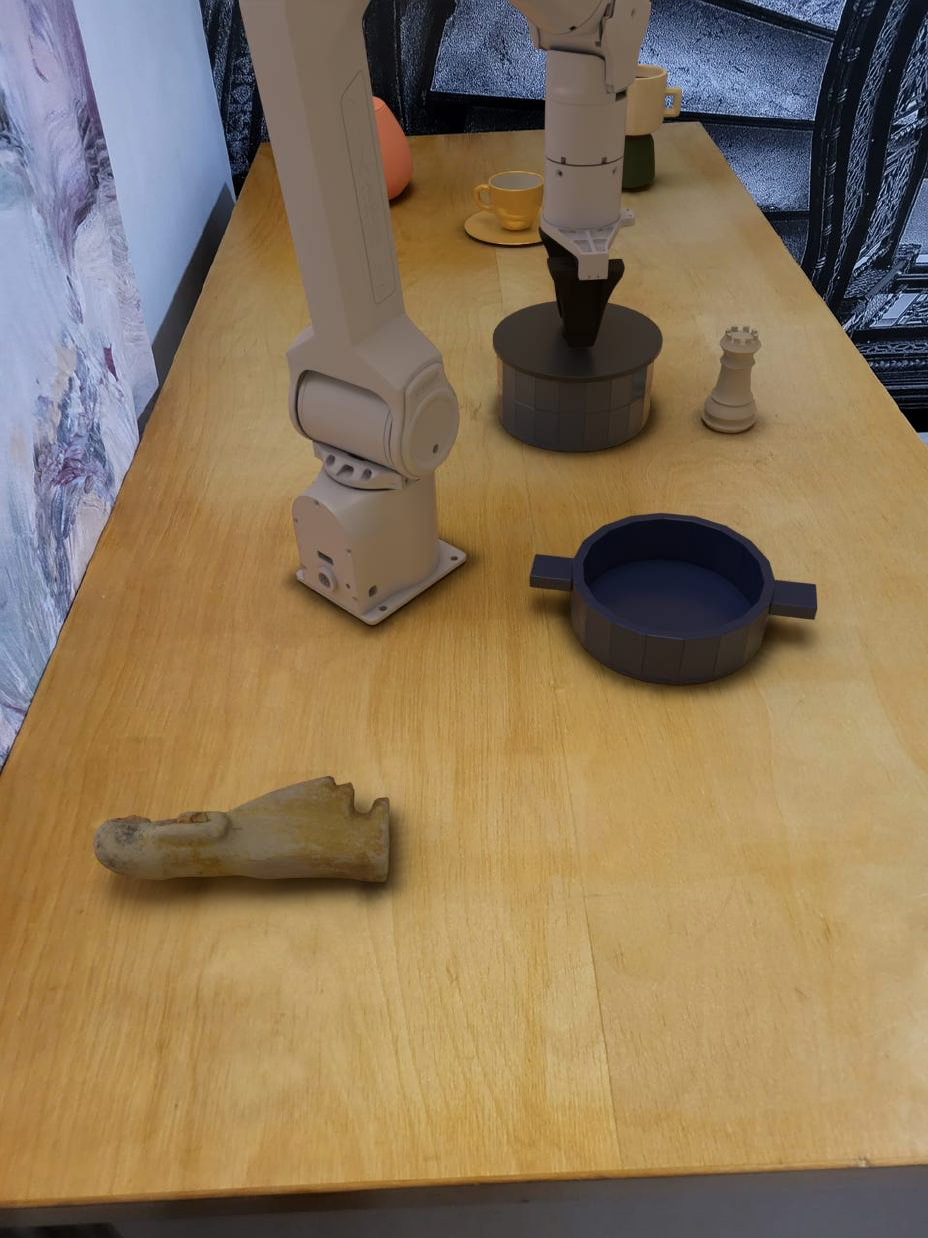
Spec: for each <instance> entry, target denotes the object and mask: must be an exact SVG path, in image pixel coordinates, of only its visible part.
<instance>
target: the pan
mask: <svg viewBox="0 0 928 1238" xmlns="http://www.w3.org/2000/svg"><path fill="white" fill-rule="evenodd" d="M528 582H529V583H528V585H529V587H530V588H533V589H542V590H551V591H560V592H566V593H567V592H568V593H570V599H569V602H570V604H569V605H570V622H571V625H572V629H573V632H574V635H576V638H577V640H578V641H579V642H580V644H581V645H582V646H583V648H584V649H585V650H586V651H587V652H588V653H589V654H590V655H591V656H592V657H593V658H594V659H596V660H597V661H598V662H600V663H602V664H603V665H605V666H606V667H608V668H609V669H611V670H613V671H615V672H617V673H620V674H622V675H624V676H627V677H630V678H632V679H636V680H639V681H643V682H648V683H654V684H660V685H672V686H682V685H683V686H685V685H686V686H687V685H696V684H702V683H707V682H713V681H715V680H719V679H721V678H723V677H726V676H728V675H730V674H733V673H735V672H736V671H738V670H739V669H741V668H742V667H744V666H745V665H746V664H747V663H749V662H750V661H751V660H752V658H753V657H754V656H755V655H756V654H757V652H758V651H759V648H760V647H761V645H762V642H763V639H764V635H765V631H766V628H767V625H768V620H769V616H774V617H775V616H777V617H783V618H794V619H802V620H811V621H815V620H816V616H817V613H818V593H817V592H818V591H817V584H816V583H809V582H800V581H791V580H781V579H775V576H774V573H773V569H772V565H771V562H770V560H769V559H768V558H767V557H766V556H765V554H764V553H763V552H762V551H761V550H760V548H758V546H757V545H756V544H755V543H754V542H753V541H752V540H751V539H749V538H748V537H746V536H744V535H742V534H741V533H739V532H738V531H736V530H734V529H733V528H731V527H729V526H728V525H725V524H722V523H719V522H716V521H712V520H709V519H707V518H703V517H699V516H696V515H689V514H678V513H669V512H654V513H653V512H652V513H644V514H635V515H629V516H626V517H624V518H620V519H617V520H615V521H612V522H609V523H607V524H604V525H602V526H601V527H599V528H598V529H597V530H595V531H594V532H593V533H591V534H589V536H587V537H586V538H585V539H583V541H581V544H580V545H579V547H578V549H577V551H576V553H575V554H574V556H573V557H567V556H559V555H558V556H557V555H549V554H541V553H540V554H538V553H536V554H535V555H534V559H533V561H532V566H531V569H530V573H529V581H528Z"/></svg>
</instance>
